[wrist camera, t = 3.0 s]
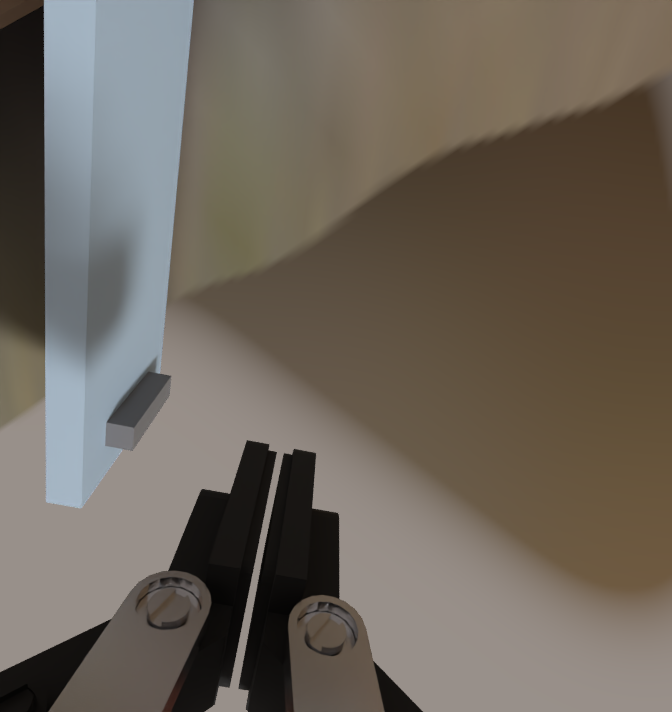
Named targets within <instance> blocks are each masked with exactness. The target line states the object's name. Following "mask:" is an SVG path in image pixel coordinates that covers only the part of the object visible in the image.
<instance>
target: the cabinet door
mask: <svg viewBox="0 0 672 712" xmlns="http://www.w3.org/2000/svg"><path fill="white" fill-rule="evenodd" d="M193 4H194V0H44V129H45V379H46V502H48V503H53V504H60V505H65V506H71V507H76V508H82V507H83V505H84V504H85V503H86V501H87V500H88V498H89V497H90V496H91V494H92V492H93V491H94V490H95V488H96V487H97V486H98V484H99V483H100V481H101V480H102V478H103V477H104V475H105V474H106V473H107V471H108V470H109V469H110V467H111V466H112V464H113V463H114V461H115V460H116V458H117V457H118V456H119V454H120V453H121V451H122V450H123V449H125V450H130V451H133V449H134V448H135V446H136V445H137V444H138V442H139V441H140V439H141V438H142V436H143V435H144V433H145V431H146V430H147V429H148V427H149V425H150V424H151V423H152V421H153V420H154V418H155V417H156V415H157V414H158V412H159V411H160V409H161V408H162V406H163V404H164V403H165V401H166V400H167V399H168V397H169V394H170V384H171V376H168V375H163V374H160V368H161V356H162V345H163V335H164V324H165V323H164V322H165V313H166V302H167V291H168V280H169V269H170V258H171V247H172V236H173V225H174V214H175V203H176V192H177V180H178V169H179V158H180V147H181V136H182V125H183V114H184V103H185V92H186V81H187V70H188V59H189V48H190V37H191V26H192V15H193Z"/></svg>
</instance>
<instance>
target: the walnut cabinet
mask: <svg viewBox="0 0 672 712" xmlns="http://www.w3.org/2000/svg"><path fill="white" fill-rule="evenodd" d="M43 5H44V0H0V29H2V28H4V27H5V26H7V25H9V24H11V23H13V22H14V21H16V20H18V19H20V18H22V17H23V16H25V15H27V14H29V13H31V12H32V11H34V10H36V9H38V8H40V7H41V6H43Z"/></svg>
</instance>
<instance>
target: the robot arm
mask: <svg viewBox="0 0 672 712" xmlns="http://www.w3.org/2000/svg"><path fill="white" fill-rule="evenodd" d="M268 449H269V444H264V443H259V442H253V441H248V440H247V442H246V445H245V448H244V451H243V455H242V458H241V461H240V464H239V467H238V470H237V474H236V477H235V480H234V484H233V486H232V490H231V493H230V494H228V493H222V492H216V491H211V490H205V489H202V490H201V492H200V494H199V496H198V499H197V501H196V504H195V506H194V509H193V511H192V513H191V516H190V518H189V521H188V524H187V526H186V528H185V531H184V533H183V536H182V538H181V541H180V543H179V546H178V548H177V551H176V553H175V556H174V559H173V561H172V563H171V566H170V568H169V570H168V571H163V572H159V573H156V574H153V575H150V576H148V577H146V578H145V579H143V580H142V581H140V582H139V583H138V584H137V585H136V586H135V587H134V588H133V589H132V590H131V592H130V593H129V594H128V596H127V597H126V599H125V600H124V602H123V603H122V605H121V606H120V608H119V609H118V611H117V612H116V614H115V615H114V616H113V618H112V619H110V620H108V621H106V622H104V623H102V624H100V625H98V626H96V627H94V628H92V629H89V630H88V631H85V632H83V633H81V634H79V635H77V636H75V637H73V638H71V639H69V640H67V641H65V642H63V643H60V644H58V645H56V646H54V647H52V648H50V649H48V650H46V651H44V652H42V653H39V654H37V655H36V656H33V657H31V658H29V659H27V660H25V661H23V662H21V663H19V664H16V665H15V666H12V667H10V668H8V669H6V670H4V671H2V672H0V712H205V711H206V710H208V709H209V708H211V707H212V706H213V705H215V700H216V696H217V692H218V687H219V686H223V687H230V682H231V678H232V673H233V667H234V663H235V658H236V653H237V648H238V643H239V638H240V632H241V628H242V622H243V618H244V613H245V608H246V603H247V598H248V593H249V588H250V583H251V578H252V573H253V569H254V563H255V559H256V554H257V549H258V544H259V538H260V534H261V528H262V524H263V518H264V514H265V509H266V504H267V498H268V493H269V488H270V483H271V479H272V474H273V468H274V464H275V459H276V454H277V452H274V451H269V450H268ZM315 459H316V453H313V452H307V451H302V450H297V449H294V450H293V454H292V455H290V454H284V456H283V460H282V465H281V470H280V475H279V481H278V485H277V490H276V495H275V499H274V504H273V509H272V514H271V519H270V524H269V528H268V534H267V538H266V543H265V548H264V553H263V558H262V564H261V569H260V575H259V580H258V585H257V591H256V597H255V602H254V607H253V612H252V618H251V623H250V629H249V634H248V639H247V645H246V651H245V656H244V661H243V667H242V672H241V677H240V683H239V689H243V690H249V694H248V699H247V705H246V710H247V711H248V712H423V711H421V709H420V708H419V707H418V706H417V705H416V704H415V703H414V702H412V700H411V699H410V698H409V697H408V696H407V695H406V694H405V693H404V692H403V691H402V690H401V689H400V688H399V687H398V686H397V685H396V684H395V683H394V682H393V681H392V680H391V679H390V678H389V677H388V676H387V675H386V673H385V672H384V671H383V670H382V669H381V668H380V667H379V666H378V665H377V664H376V663H375V662H374V661H373V658H372V653H371V649H370V645H369V640H368V636H367V631H366V628H365V625H364V623H363V620H362V618H361V616H360V615H359V614H358V613H357V611H356V610H355V609H354V608H353V607H351V606H350V605H349V604H348V603H346V602H344V601H342V600H340V599H339V515H338V513H334V512H329V511H323V510H318V509H312V500H313V487H314V474H315Z"/></svg>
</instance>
